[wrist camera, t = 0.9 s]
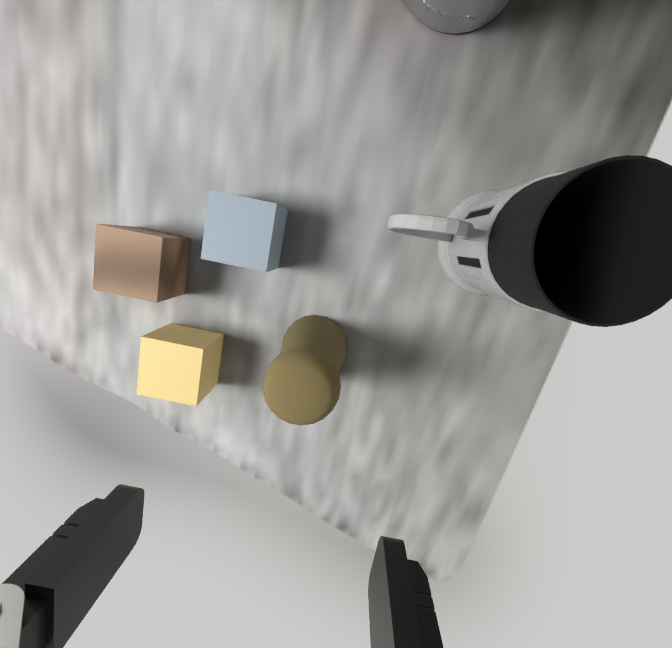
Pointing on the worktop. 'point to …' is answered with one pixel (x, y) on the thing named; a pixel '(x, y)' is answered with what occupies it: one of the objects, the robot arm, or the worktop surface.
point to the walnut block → (140, 262)
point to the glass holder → (564, 241)
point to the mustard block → (179, 363)
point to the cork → (306, 371)
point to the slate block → (243, 231)
